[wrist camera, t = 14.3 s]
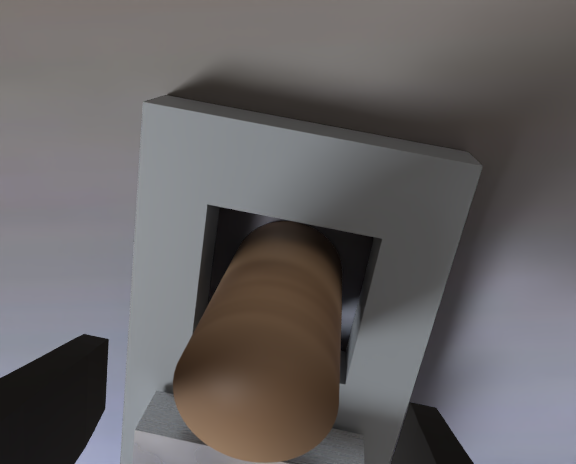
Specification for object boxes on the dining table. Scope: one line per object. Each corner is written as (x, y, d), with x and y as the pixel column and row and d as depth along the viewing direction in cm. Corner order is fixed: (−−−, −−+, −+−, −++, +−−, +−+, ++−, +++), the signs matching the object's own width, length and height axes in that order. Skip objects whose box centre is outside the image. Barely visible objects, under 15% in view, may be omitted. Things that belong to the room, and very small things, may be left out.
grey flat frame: (350, 544, 23) (350, 588, 21) (133, 495, 23) (115, 534, 22) (467, 151, 17) (482, 165, 15) (165, 95, 17) (143, 101, 15)
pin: (332, 329, 19) (323, 476, 13) (228, 310, 20) (167, 445, 13) (352, 231, 18) (353, 341, 11) (239, 212, 18) (178, 308, 12)
